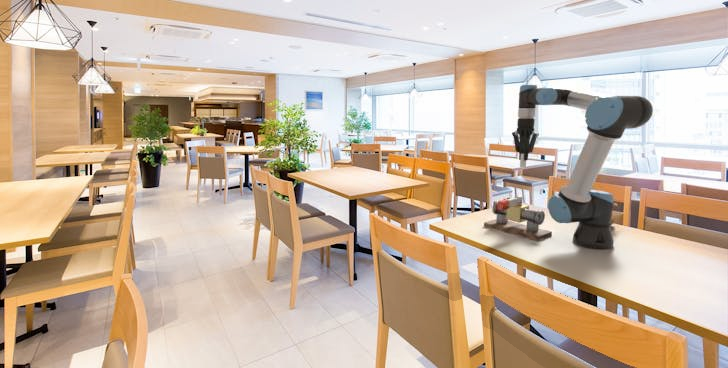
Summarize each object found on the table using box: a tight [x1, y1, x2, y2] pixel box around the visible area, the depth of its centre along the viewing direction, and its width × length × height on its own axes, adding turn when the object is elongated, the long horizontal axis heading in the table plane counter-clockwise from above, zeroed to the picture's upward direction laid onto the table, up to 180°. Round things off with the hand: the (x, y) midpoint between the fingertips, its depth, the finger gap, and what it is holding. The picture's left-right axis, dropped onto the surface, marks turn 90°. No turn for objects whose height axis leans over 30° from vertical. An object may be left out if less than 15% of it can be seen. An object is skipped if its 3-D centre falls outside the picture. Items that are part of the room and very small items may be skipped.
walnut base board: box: [483, 218, 553, 242], centre depth 186 cm, size 28×12×2 cm, turn 37°
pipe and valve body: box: [492, 201, 546, 233], centre depth 184 cm, size 23×7×10 cm, turn 37°
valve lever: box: [497, 195, 524, 210], centre depth 179 cm, size 17×4×4 cm, turn 128°
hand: (522, 166), depth 190 cm, fingers closed
